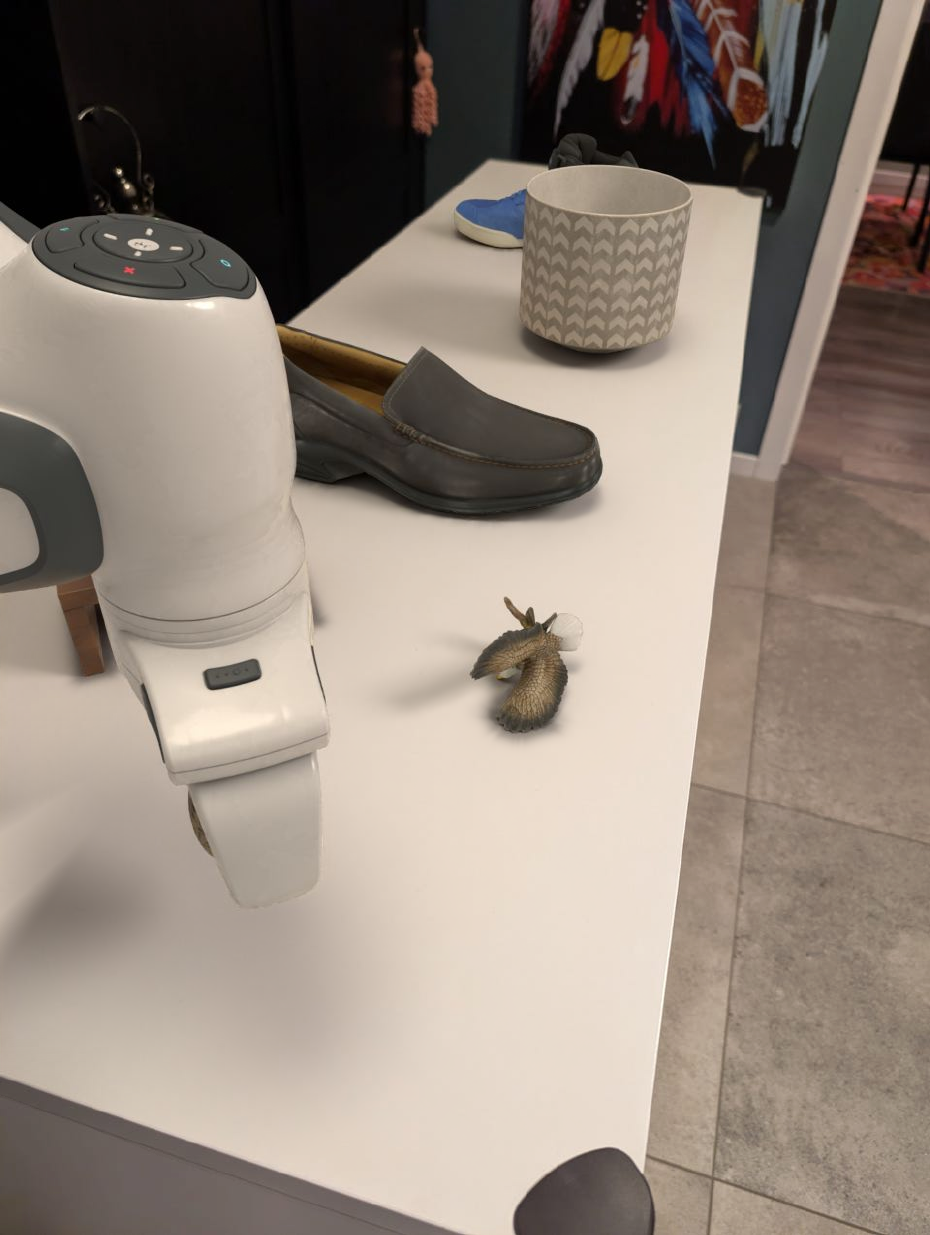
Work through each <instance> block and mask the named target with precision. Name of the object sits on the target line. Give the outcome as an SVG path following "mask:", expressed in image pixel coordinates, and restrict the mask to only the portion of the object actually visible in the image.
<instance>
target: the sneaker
mask: <svg viewBox="0 0 930 1235" xmlns="http://www.w3.org/2000/svg"><path fill="white" fill-rule="evenodd" d="M597 146H598V144H597V140H596V138H594V137H593V136H591V135H588V134H585V133H581V132H579V133H574V132H573V133H568V134H566V135H564V137H562V138H561V139H560V140H559V143H558V146H557V147H556V148H554V149H553V150H552V153H551V156H550V158H549V162H548V165H547V171H548V170H552V169H557V168H562V167H569V166H581V165H613V166H625V167H633V168H640V167H639V165H638V163H637V161H636V160H635V158H634V155H633V154H632V153H631V152H630V151H629V150H628V151H627V150H625V151H624V153H623V154H622V155H621V156H620V157H618V156H614V155H610V154H609V153H606V152H602V151H599V150H597ZM525 196H526V188H523V189H520V190H518V191H517V192H514V193H512V194H511V195H510V196H505V197H503V198H501V199H485V198H470V199H465V200H462V201H461V202H459V203H458V205H456V206H455V207H454V209H453V218H452V219H453V220H452V221H453V223H454V226H455V228H456V229H457V230H458V231H459V232H460V233H461V234H463V235H464V236H466V237H467V238H470V239H472V240H474V241H476V242H479V243H482V244H485V245H488V246H492V247H496V248H505V249H511V248H523V235H524V216H525Z"/></svg>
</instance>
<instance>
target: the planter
mask: <svg viewBox="0 0 930 1235" xmlns="http://www.w3.org/2000/svg"><path fill="white" fill-rule="evenodd" d="M525 189H526V196H525V216H524V235H523V247H522V256H521V275H520V276H521V277H520V293H519V294H520V296H519V318H520V321H521V322H522V324H523V325H524V327H526V328H527V329H528V330H529V331H531V332H532V333H533V334H535V335H537V336H539V337H541V338H543V339H546V340H549V341H551V342H553V343H556V344H558V345H559V346H562V347H564V348H568V349H570V350H573V351H577V352H581V353H587V354H610V353H611V354H612V353H617V352H622V351H625V350H629V349H631V348H638V347H642V346H646V345H649V344H652V343H654V342H657V341H659V340H661V339H662V338H664V337H665V336H666V335H668V334H669V333H670V332H671V330H672V328H673V326H674V320H675V315H676V308H677V302H678V296H679V289H680V282H681V276H682V270H683V265H684V264H683V263H684V259H685V258H684V257H685V251H686V250H685V249H686V247H687V246H686V245H687V239H688V234H689V233H688V232H689V226H690V221H691V220H690V219H691V214H692V208H693V201H694V191H693V190H692V189H691V187H690V186H689V185H688V184H687V183H686V182H684V181H682V180H680V179H679V178H676V177H674V176H672V175H670V174H669V175H668V174H665V173H661V172H658V171H655V170H650V169H644V168H641V167H639V168H633V167H625V166H613V165H581V166H569V167H562V168H557V169H552V170H548V169H547V170H545V171H542V172H540V173H538V174H535V175H534V176H532V177H531V178H530V179H529V180H528V181H527V183H526V186H525Z"/></svg>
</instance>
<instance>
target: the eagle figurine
mask: <svg viewBox="0 0 930 1235" xmlns="http://www.w3.org/2000/svg"><path fill="white" fill-rule="evenodd" d="M503 602H504V605H505V608H506V609H507V610H508V611H509V612H510V613H511V615H512V616H513V617H514V618H515V619H516V620H517V621H518V622H519V623H520V626H521V627H522V629H515V630H507V631H506V632H503V633H502V634H501V635H499V636H498V637H497V639H494V640H493V641H492V642H491V643H490V644H489V645H487V647H486V648H484V649H483V650H482V652H481V654H480V655H479V656H478V657H477V659H476V662H474V664H473V667H472V670H471V671H470V672H469V677H471V679H473V680H474V681H477V680H480V679H482V678H484V677H488V676H490V675H495V674H498V675H497V676H496V678H497V679H498V680H500V679H509V678H510V677H512V676H514V675H515V674H516V673H517V672H519V671H521V674H520V677H519V680H518V682H517V684H516V685H515V687H514V689H513V691H512V693H511V694H510V695H509V697H507V699H506V700H505V701H504V702H503V703H502V705H501V706H500V707H499V708H498V710H497V711H496V713H495V717H496V718H498V722H499V724H500V725H504V726H503V727H504V729H505V730H506V731H511V733H513V734H514V733H515V734H516V733H518V732H521V731H522V733H527V732H528V731H530V730H531V729H532V728H533V730H537V729H539V727H544V726H546V725H547V724H548V723H549V722H550V721H551V719H553V718H554V717H555V716H556V713H557V712H558V711H559V706H560V704H561V702H562V696H563V694H564V692H565V689H566V688H565V687H567V686H568V685H567V684H568V682H569V675H568V673H569V670H568V669H567V665H566V664H565V663H564V660H563V659H562V658H561V654H560V653H559V652H575V651H577V650H578V649H579V647H580V646H581V642H582V637H583V635H584V629H583V622H582V621H581V620H580V618H578V617H577V616H575V615H574V614H571V613H567V612H564V613H563V612H561V613H559V614H558V613H557V612H553V614H552V615H551V616H550V617H549V618H547V619H546V620H545V621H544V622H542V623H541V622H539V621H536V617H535V611H534V608H533V607H532V606H529V607H528V608H527V609H526V611H525V614H524V613H522V612H521V611H520V610H519V609H518V608H517V607H516V606H515V605H514V604H513V602H512V600H511V599H510V598H509V597H508V596H504V597H503ZM548 629H549V630H548Z"/></svg>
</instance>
